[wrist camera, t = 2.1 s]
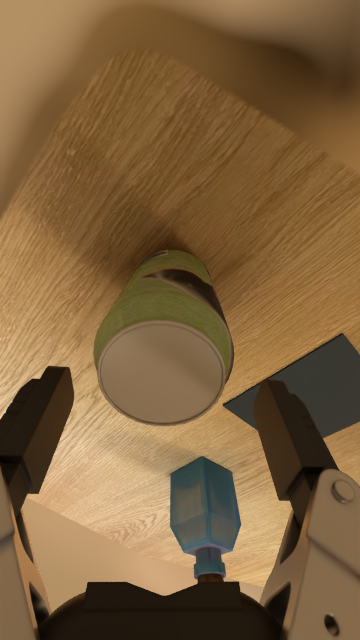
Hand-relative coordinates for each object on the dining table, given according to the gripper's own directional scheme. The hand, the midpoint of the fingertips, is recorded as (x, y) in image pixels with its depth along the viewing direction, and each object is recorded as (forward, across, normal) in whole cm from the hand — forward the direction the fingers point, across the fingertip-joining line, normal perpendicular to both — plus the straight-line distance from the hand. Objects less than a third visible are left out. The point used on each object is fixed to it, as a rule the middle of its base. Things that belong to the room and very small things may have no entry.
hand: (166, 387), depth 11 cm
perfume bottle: (+12, -7, +30) cm, 33 cm away
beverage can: (+11, 0, 0) cm, 11 cm away
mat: (+11, -17, +14) cm, 25 cm away
